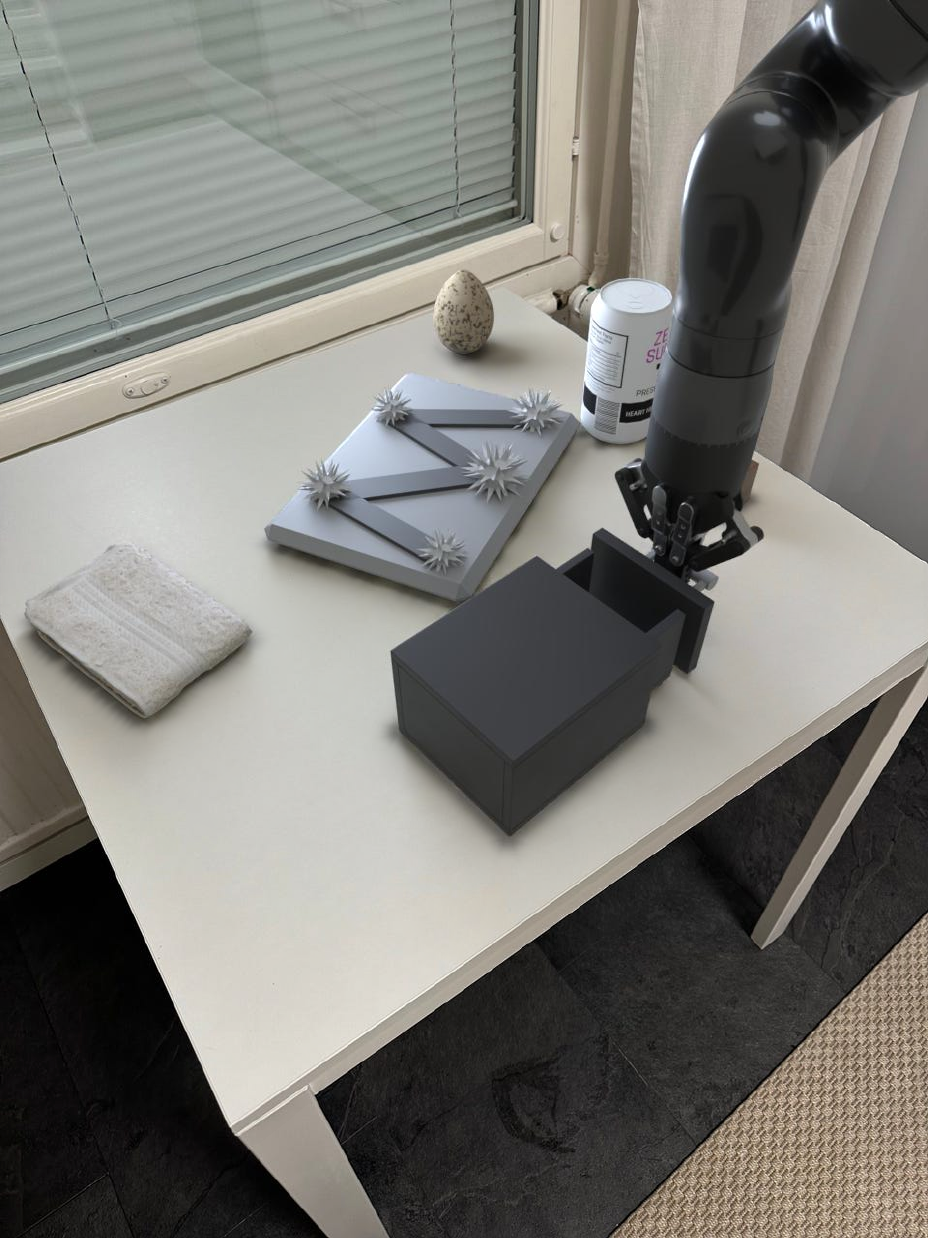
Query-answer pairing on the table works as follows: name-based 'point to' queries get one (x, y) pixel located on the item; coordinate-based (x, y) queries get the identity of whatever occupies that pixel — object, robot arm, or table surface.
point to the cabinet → (523, 690)
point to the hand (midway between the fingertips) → (668, 585)
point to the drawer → (647, 598)
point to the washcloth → (135, 627)
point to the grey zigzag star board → (428, 484)
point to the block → (749, 480)
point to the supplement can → (624, 358)
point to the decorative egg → (463, 313)
